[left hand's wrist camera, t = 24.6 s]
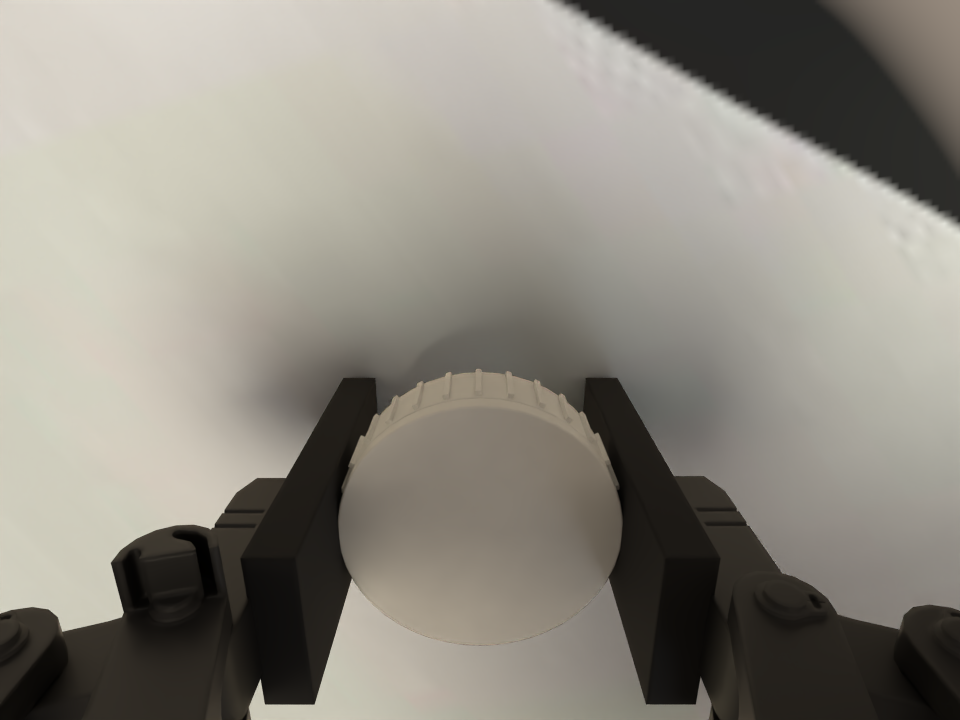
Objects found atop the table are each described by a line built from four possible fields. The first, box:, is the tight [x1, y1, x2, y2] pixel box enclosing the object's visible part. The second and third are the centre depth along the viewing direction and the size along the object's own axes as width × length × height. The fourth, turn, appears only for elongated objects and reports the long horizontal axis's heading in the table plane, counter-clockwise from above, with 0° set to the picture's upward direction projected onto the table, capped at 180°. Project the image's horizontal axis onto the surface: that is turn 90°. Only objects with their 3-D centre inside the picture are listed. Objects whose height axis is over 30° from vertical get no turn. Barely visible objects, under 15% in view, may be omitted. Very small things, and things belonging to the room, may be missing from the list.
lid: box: [338, 369, 623, 645], centre depth 11 cm, size 5×5×2 cm
